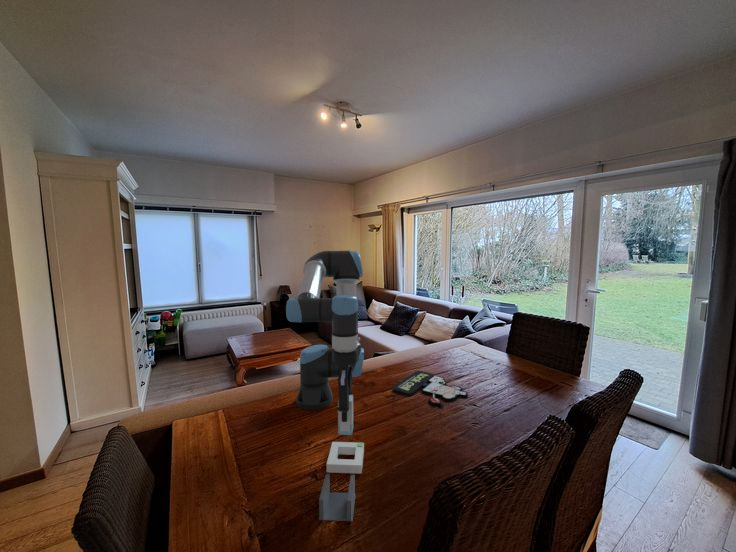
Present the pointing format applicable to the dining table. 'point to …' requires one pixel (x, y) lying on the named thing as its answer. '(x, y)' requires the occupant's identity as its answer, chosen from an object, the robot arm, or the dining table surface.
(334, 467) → the frame
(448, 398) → the sign
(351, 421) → the plug
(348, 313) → the robot arm
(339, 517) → the holster
